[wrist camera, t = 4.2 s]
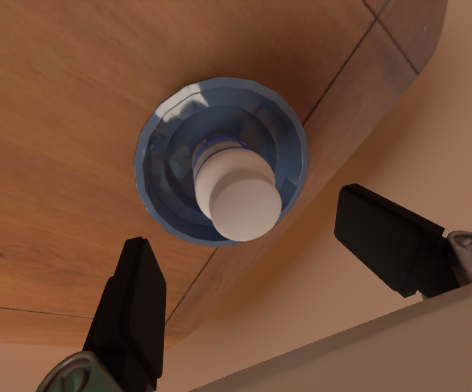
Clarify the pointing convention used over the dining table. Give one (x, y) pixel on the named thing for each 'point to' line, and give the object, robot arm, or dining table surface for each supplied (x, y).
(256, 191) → the pill bottle
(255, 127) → the bowl
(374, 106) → the dining table surface
